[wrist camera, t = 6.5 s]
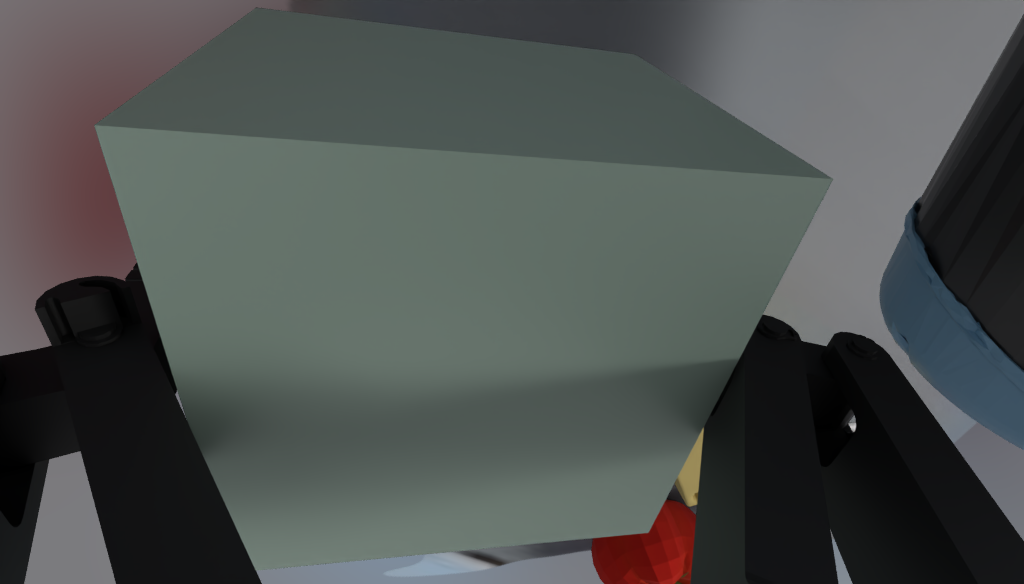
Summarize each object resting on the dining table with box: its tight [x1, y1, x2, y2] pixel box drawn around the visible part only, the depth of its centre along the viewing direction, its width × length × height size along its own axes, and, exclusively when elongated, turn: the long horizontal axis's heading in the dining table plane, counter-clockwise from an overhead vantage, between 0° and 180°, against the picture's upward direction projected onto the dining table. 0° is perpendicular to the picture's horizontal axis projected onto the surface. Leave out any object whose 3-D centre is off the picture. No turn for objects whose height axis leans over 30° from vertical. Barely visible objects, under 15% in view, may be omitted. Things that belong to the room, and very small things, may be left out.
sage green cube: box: [94, 8, 833, 570], centre depth 14 cm, size 10×10×9 cm
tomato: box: [591, 500, 696, 584], centre depth 53 cm, size 11×12×9 cm
